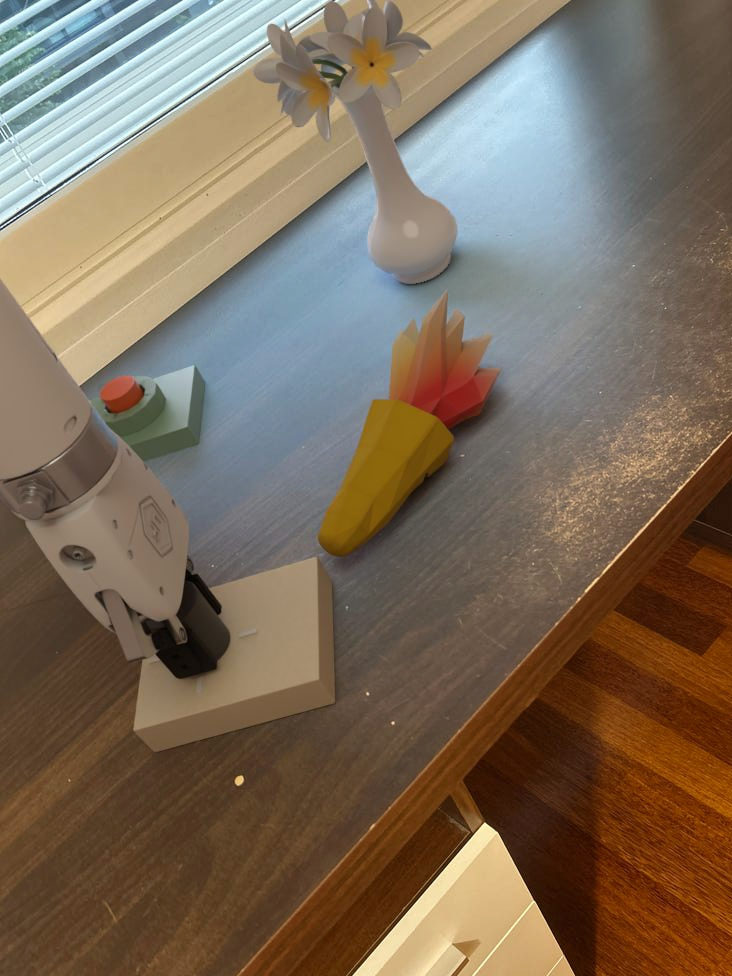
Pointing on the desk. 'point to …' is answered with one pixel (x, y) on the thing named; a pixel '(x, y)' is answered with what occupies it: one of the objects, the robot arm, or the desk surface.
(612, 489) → the desk surface
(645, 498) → the desk surface
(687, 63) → the desk surface
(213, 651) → the knob
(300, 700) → the panel
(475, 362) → the torch
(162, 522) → the robot arm
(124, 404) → the button
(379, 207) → the flower vase
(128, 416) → the button box
